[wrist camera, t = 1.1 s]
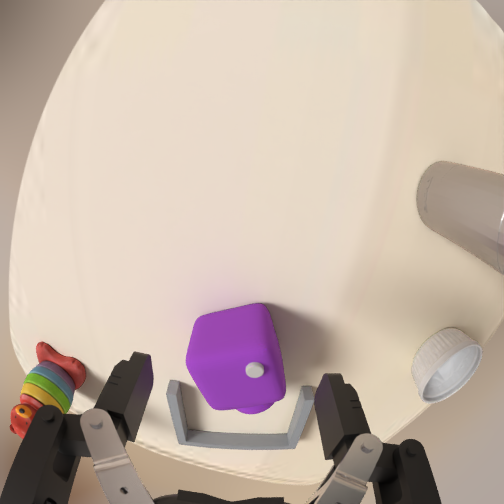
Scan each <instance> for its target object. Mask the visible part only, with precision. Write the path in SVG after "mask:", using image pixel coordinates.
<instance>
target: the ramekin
mask: <svg viewBox="0 0 504 504" xmlns="http://www.w3.org/2000/svg"><path fill="white" fill-rule="evenodd" d="M482 353H483V351H482V347H481V346H480V344H479V343H478V342H477V341H475V340H472V339H471V338H470V337H469V336H467V335H466V334H465V333H463V332H462V331H460V330H459V329H456V328H447V329H443V330H441V331H438V332H437V333H435V334H434V335H432V336H431V337H430V338H428V339H427V340H426V341H425V342H424V343H423V344H422V346H421V347H420V348H419V350H418V351H417V353H416V355H415V357H414V359H413V363H412V368H411V370H412V376H413V379H414V381H415V384H416V386H417V388H418V393H419V396H420V398H421V399H422V401H423V402H425V403H436V402H439V401H442V400H444V399H446V398H448V397H450V396H451V395H453V394H454V393H455V392H457V391H458V390H459V389H460V388H461V387H463V385H465V383H466V382H467V381H468V380H469V379H470V378H471V377H472V375H473V374H474V373H475V371H476V369H477V368H478V366H479V364H480V361H481V358H482Z"/></svg>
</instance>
